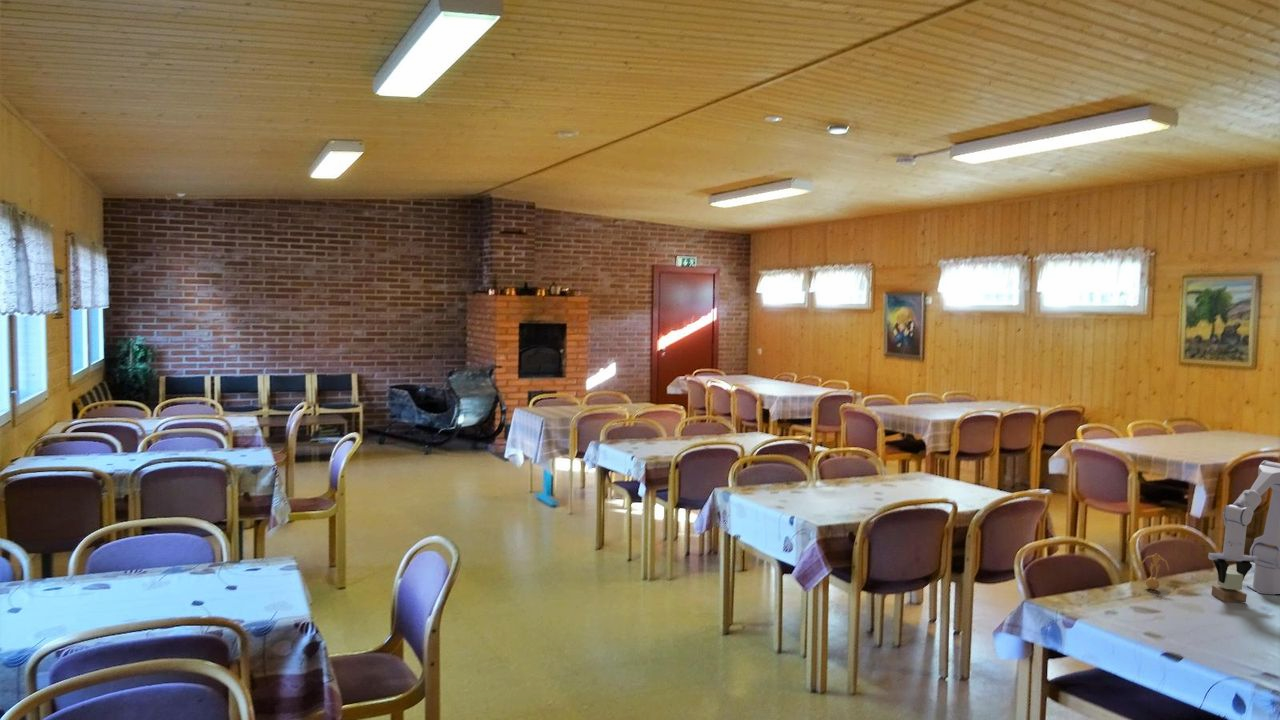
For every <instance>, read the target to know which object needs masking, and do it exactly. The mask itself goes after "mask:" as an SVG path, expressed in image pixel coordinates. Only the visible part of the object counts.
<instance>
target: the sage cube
mask: <svg viewBox="0 0 1280 720" xmlns="http://www.w3.org/2000/svg"><path fill="white" fill-rule="evenodd" d="M1243 582H1244V579H1243V575H1242V574H1241V573H1239V572H1237V570H1234V569H1227V572H1226V578H1225V582H1224V583H1222V582H1220V581H1219V577H1218V576H1217V582H1216V583H1217V586H1222V587H1223V588H1225V589H1234V590H1240V591H1242V590H1243Z"/></svg>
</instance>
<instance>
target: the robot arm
mask: <svg viewBox="0 0 1280 720" xmlns="http://www.w3.org/2000/svg"><path fill="white" fill-rule="evenodd" d="M1257 470H1258V471H1257V477H1256V480H1255V481H1254V482H1253V484H1252V485H1251V487H1250V489H1244V490H1243V491H1242V493H1240V494H1239V496H1238V498H1237V499H1236V500H1235V501H1234V502H1233V503H1232V504H1227V505H1225V507H1224V509H1223V512H1222V519H1223V525H1224V527H1225V529H1224V540H1223V548H1222V549H1223V550H1222V552H1208V555H1207V558H1208V559H1209V560H1210V561H1212V562H1213V563H1214V566H1215V569H1216V572H1217V578H1218V577H1219V581H1220V582H1222V583H1224V582H1225V578H1226V572H1227V570H1229V566H1230V565H1229V563H1228V562H1235V565H1236V571H1237V572H1239V573H1241V574H1242V575H1243V580H1245V577H1246V575H1247V574H1248V572H1250V570H1251V569H1252V568H1253V564H1254V573H1253V581H1252V584H1246V587H1248V588H1249V589H1251V590H1253V591H1255V592H1256V593H1259V594H1261V595H1262V594H1265V595H1275V594H1280V462H1275V461H1274V462H1273V461H1270V460H1267V459H1266V460H1263V461H1261V462H1260V464H1259V466H1258V469H1257ZM1270 488H1271V490H1272V493H1271V497H1270V501H1269V507H1268V510H1267V511H1268V512H1267V516H1266V521H1265V524H1264V528H1263V529H1264V530H1263V534H1262V535H1260V536H1258V537H1255V538H1254V539H1253V543H1252V544H1251V547H1250V549H1249V554H1245V548H1246V547H1245V546H1246V539H1247V537H1246V536H1247V528H1248V527H1247V526H1248V525H1249V524H1250V523H1251V522H1252V518H1253V516H1254V514H1255V513H1254V511H1255V510H1256V509H1257V508H1258V506H1259V505H1260V504H1262V503H1261V502H1262V497H1261V496H1263V495H1264V494H1265V493H1266V492H1267V491H1268V490H1269V489H1270ZM1252 563H1253V564H1252Z"/></svg>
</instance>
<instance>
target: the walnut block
mask: <svg viewBox="0 0 1280 720" xmlns="http://www.w3.org/2000/svg"><path fill="white" fill-rule="evenodd" d="M1211 586H1212V587H1211V595H1212V596H1213V597H1215V598H1216V599H1219V600H1220V601H1222V602H1223V601H1224V602H1227V603H1237V602H1246V603H1247V597H1248V596H1247V595H1248V593H1246V592H1244V591H1242V590H1234V589H1225V588H1223V587H1222V586H1220V585H1211ZM1224 602H1223V603H1224Z"/></svg>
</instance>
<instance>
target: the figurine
mask: <svg viewBox="0 0 1280 720" xmlns="http://www.w3.org/2000/svg"><path fill="white" fill-rule="evenodd" d="M1151 558H1152V562H1153V563H1152V562H1151V563H1150V567H1149V569H1150V576H1149V577H1147V579H1146V580H1145V585H1146V587H1147V589H1149V590H1152V591H1153V590H1157V589H1159V587H1160V581H1159V580H1158V574H1159V570H1160V567H1161V564H1159V562H1160V561H1163V562H1165V564H1166V568H1167V571H1168V572H1169V571H1170V567H1169V564H1168V561H1167V560H1166V559H1165V558H1163V557H1162V556H1160V554H1159V553H1158V552H1156V553H1155V554H1153V555H1148V556H1145V558H1144V559H1143V560H1142V562H1141V563H1140V566H1143V564H1144V562H1145V561H1146V560H1147V559H1151ZM1154 568H1155V576H1153V574H1154V573H1153V570H1154Z"/></svg>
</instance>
